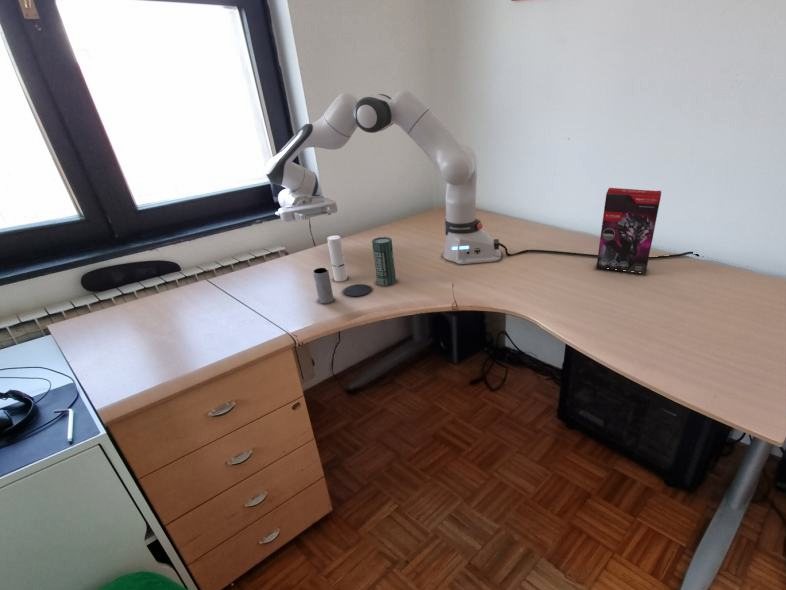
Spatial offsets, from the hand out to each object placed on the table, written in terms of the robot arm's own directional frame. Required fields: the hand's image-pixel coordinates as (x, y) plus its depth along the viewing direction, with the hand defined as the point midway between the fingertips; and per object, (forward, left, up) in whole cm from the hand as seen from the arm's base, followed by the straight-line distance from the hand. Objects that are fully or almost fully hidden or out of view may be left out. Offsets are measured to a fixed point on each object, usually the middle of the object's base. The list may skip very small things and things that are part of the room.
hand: (316, 215), depth 158 cm
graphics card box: (-107, +5, -20) cm, 109 cm away
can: (-24, +13, -20) cm, 34 cm away
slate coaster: (-15, +20, -20) cm, 32 cm away
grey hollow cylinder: (-7, +27, -20) cm, 34 cm away
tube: (-7, +10, -20) cm, 23 cm away
